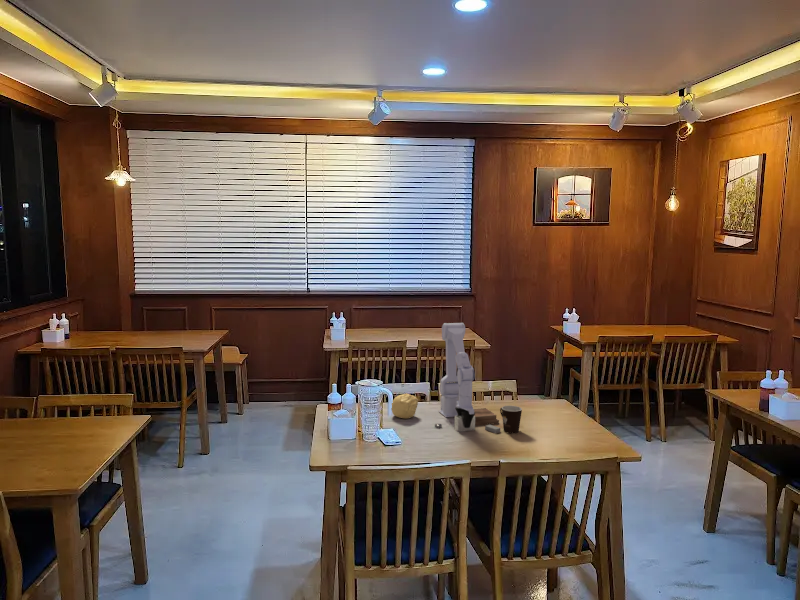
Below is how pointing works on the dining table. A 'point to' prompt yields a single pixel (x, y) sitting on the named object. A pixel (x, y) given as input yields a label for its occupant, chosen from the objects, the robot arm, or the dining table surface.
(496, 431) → the grey offcut
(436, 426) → the steel nut
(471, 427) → the block
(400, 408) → the tan rounded lump
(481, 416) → the stand
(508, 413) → the coffee mug
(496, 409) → the dining table surface
